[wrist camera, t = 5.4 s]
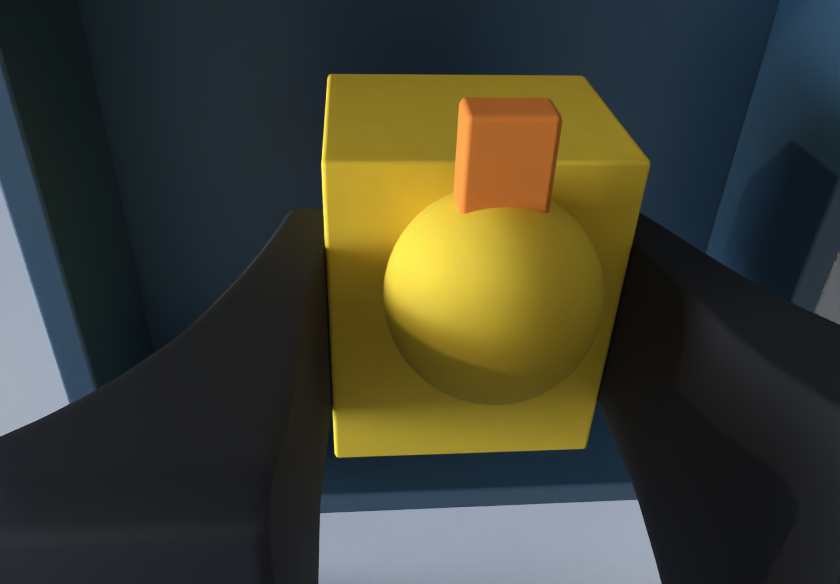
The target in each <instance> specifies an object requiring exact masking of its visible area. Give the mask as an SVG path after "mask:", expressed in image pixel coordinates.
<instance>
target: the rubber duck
mask: <svg viewBox="0 0 840 584" xmlns="http://www.w3.org/2000/svg"><path fill="white" fill-rule="evenodd" d="M649 168H650V161H649V159H648V158H647V157H646V155H645V154H644V153H643V151H642V150H641V149H640V148H639V146H638V145H637V144H636V142H635V141H634V140H633V139H632V137H631V136H630V135H629V133H628V132H627V131H626V130H625V128H624V127H623V126H622V124H621V123H620V122H619V121H618V119H617V118H616V117H615V115H614V114H613V113H612V112H611V110H610V109H609V108H608V106H607V105H606V104H605V103H604V101H603V100H602V99H601V97H600V96H599V95H598V94H597V92H596V91H595V90H594V88H593V87H592V86H591V85H590V83H589V82H588V81H587V79H586V78H585V77H584V76H568V75H419V74H330V75H328V78H327V91H326V105H325V119H324V134H323V148H322V162H321V170H322V192H323V213H324V235H325V257H326V278H327V300H328V321H329V343H330V365H331V386H332V408H333V430H334V451H335V455H336V457H339V458H342V457H370V456H398V455H426V454H454V453H482V452H510V451H538V450H566V449H584V448H586V446H587V441H588V437H589V432H590V428H591V424H592V419H593V415H594V410H595V406H596V402H597V397H598V393H599V388H600V384H601V380H602V375H603V371H604V366H605V362H606V358H607V353H608V349H609V344H610V340H611V335H612V331H613V327H614V322H615V318H616V313H617V309H618V305H619V300H620V296H621V291H622V287H623V283H624V278H625V274H626V269H627V265H628V261H629V256H630V252H631V247H632V243H633V238H634V234H635V230H636V225H637V221H638V216H639V212H640V208H641V203H642V199H643V194H644V190H645V186H646V181H647V177H648V172H649Z"/></svg>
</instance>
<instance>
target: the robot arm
mask: <svg viewBox="0 0 840 584" xmlns="http://www.w3.org/2000/svg"><path fill="white" fill-rule="evenodd" d="M597 401H598V403H599V406H600V408H601V410H602V413H603V415H604V417H605V420H606V422H607V424H608V427H609V429H610V431H611V434H612V436H613V439H614V441H615V443H616V446H617V448H618V450H619V453H620V455H621V457H622V460H623V462H624V465H625V467H626V469H627V472H628V474H629V477H630V479H631V482H632V485H633V488H634V490H635V493H636V496H637V498H638V502H639V505H640V508H641V512H642V515H643V519H644V522H645V525H646V529H647V532H648V536H649V539H650V542H651V546H652V549H653V553H654V556H655V560H656V564H657V567H658V571H659V575H660V579H661V582H662V584H840V325H839V324H836V323H834V322H832V321H830V320H828V319H826V318H823V317H821V316H819V315H817V314H815V313H812V312H810V311H808V310H806V309H804V308H802V307H800V306H798V305H796V304H794V303H792V302H790V301H788V300H786V299H784V298H782V297H780V296H778V295H776V294H774V293H773V292H771V291H769V290H767V289H765V288H763V287H762V286H760V285H758V284H756V283H754V282H753V281H751V280H749V279H747V278H745V277H744V276H742V275H740V274H738V273H737V272H735V271H733V270H732V269H730V268H728V267H727V266H725V265H723V264H722V263H720V262H718V261H717V260H715V259H713V258H712V257H710V256H709V255H707V254H705V253H704V252H702V251H701V250H699V249H697V248H696V247H694V246H693V245H691V244H690V243H688V242H686V241H685V240H683V239H682V238H680V237H679V236H677V235H675V234H674V233H672V232H671V231H669V230H668V229H666V228H664V227H663V226H661V225H660V224H658V223H656V222H655V221H653V220H651V219H650V218H648V217H646V216H645V215H643V214H641V213H639V216H638V221H637V225H636V230H635V234H634V238H633V243H632V247H631V252H630V256H629V261H628V265H627V269H626V274H625V278H624V283H623V287H622V291H621V296H620V300H619V305H618V309H617V313H616V318H615V322H614V327H613V331H612V335H611V340H610V344H609V349H608V353H607V358H606V362H605V366H604V371H603V375H602V380H601V384H600V388H599V393H598V397H597ZM331 412H332V386H331V365H330V343H329V321H328V300H327V278H326V257H325V235H324V213H323V209H292V210H291V211H290V212H289V213H288V214H287V215H286V216H285V218H284V219H283V221H282V222H281V224H280V225H279V227H278V228H277V230H276V231H275V233H274V234H273V235H272V237H271V238H270V240H269V241H268V242H267V244H266V245H265V246H264V247H263V249H262V250H261V251H260V253H259V254H258V255H257V256H256V257H255V259H254V260H253V261H252V262H251V264H250V265H249V266H248V267H247V268H246V270H245V271H244V272H243V273H242V274H241V275H240V277H239V278H238V279H237V280H236V281H235V282H234V283H233V284H232V285H231V286H230V287H229V288H228V289H227V290H226V291H225V292H224V294H223V295H222V296H221V297H220V298H219V299H218V300H217V301H216V302H215V303H214V304H213V305H212V306H211V307H210V308H209V309H208V310H207V311H206V312H205V313H204V314H202V315H201V316H200V317H199V318H198V319H197V320H196V321H195V322H194V323H193V324H191V325H190V326H189V327H188V328H187V329H185V330H184V331H183V332H182V333H180V334H179V335H178V336H177V337H175V338H174V339H173V340H172V341H170V342H169V343H168V344H166V345H165V346H163V347H162V348H160V349H159V350H157V351H156V352H154V353H153V354H152V355H150V356H149V357H147V358H146V359H144V360H143V361H141V362H140V363H138V364H137V365H135V366H134V367H132V368H131V369H129V370H128V371H126V372H125V373H123V374H122V375H120V376H119V377H117V378H115V379H114V380H112V381H110V382H109V383H107V384H105V385H103V386H102V387H100V388H98V389H97V390H95V391H93V392H91V393H90V394H88V395H86V396H84V397H82V398H80V399H78V400H77V401H75V402H73V403H71V404H69V405H67V406H65V407H63V408H61V409H59V410H58V411H56V412H53V413H51V414H49V415H47V416H45V417H43V418H41V419H39V420H37V421H35V422H33V423H30V424H28V425H26V426H24V427H21V428H19V429H17V430H14V431H12V432H10V433H8V434H5V435H3V436H1V437H0V584H318V569H319V527H320V505H321V493H322V482H323V475H324V467H325V459H326V451H327V443H328V436H329V428H330V420H331Z"/></svg>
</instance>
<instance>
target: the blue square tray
mask: <svg viewBox="0 0 840 584" xmlns="http://www.w3.org/2000/svg"><path fill="white" fill-rule="evenodd" d="M330 74H419V75H568V76H584V77H585V78H586V79H587V81H588V82H589V83H590V85H591V86H592V87H593V88H594V90H595V91H596V92H597V94H598V95H599V96H600V97H601V99H602V100H603V101H604V103H605V104H606V105H607V106H608V108H609V109H610V110H611V112H612V113H613V114H614V115H615V117H616V118H617V119H618V121H619V122H620V123H621V124H622V126H623V127H624V128H625V130H626V131H627V132H628V133H629V135H630V136H631V137H632V139H633V140H634V141H635V142H636V144H637V145H638V146H639V148H640V149H641V150H642V151H643V153H644V154H645V155H646V157H647V158H648V159H649V161H650V168H649V172H648V177H647V181H646V186H645V190H644V194H643V199H642V203H641V208H640V212H639V213H641V214H643V215H645V216H646V217H648V218H650V219H651V220H653V221H655V222H656V223H658V224H660V225H661V226H663V227H664V228H666V229H668V230H669V231H671V232H672V233H674V234H675V235H677V236H679V237H680V238H682V239H683V240H685V241H686V242H688V243H690V244H691V245H693V246H694V247H696V248H697V249H699V250H701V251H702V252H704V253H705V254H707V255H709V256H710V257H712V258H713V259H715V260H717V261H718V262H720V263H722V264H723V265H725V266H727V267H728V268H730V269H732V270H733V271H735V272H737V273H738V274H740V275H742V276H744V277H745V278H747V279H749V280H751V281H753V282H754V283H756V284H758V285H760V286H762V287H763V288H765V289H767V290H769V291H771V292H773V293H774V294H776V295H778V296H780V297H782V298H784V299H786V300H788V301H790V302H792V303H794V304H796V305H798V306H800V307H802V308H804V309H806V310H808V311H810V312H812V313H815V311H816V308H817V306H818V304H819V301H820V299H821V296H822V294H823V291H824V289H825V287H826V284H827V282H828V279H829V277H830V275H831V272H832V270H833V267H834V265H835V262H836V260H837V258H838V255H839V253H840V0H0V186H1V189H2V192H3V195H4V199H5V202H6V205H7V208H8V211H9V214H10V217H11V221H12V224H13V227H14V230H15V233H16V236H17V239H18V243H19V246H20V249H21V252H22V255H23V258H24V262H25V265H26V268H27V271H28V274H29V277H30V280H31V284H32V287H33V290H34V293H35V296H36V299H37V302H38V306H39V309H40V312H41V315H42V318H43V321H44V324H45V328H46V331H47V334H48V337H49V340H50V343H51V347H52V350H53V353H54V356H55V359H56V362H57V365H58V369H59V372H60V375H61V378H62V381H63V384H64V387H65V391H66V394H67V397H68V400H69V403H70V404H71V403H73V402H75V401H77V400H78V399H80V398H82V397H84V396H86V395H88V394H90V393H91V392H93V391H95V390H97V389H98V388H100V387H102V386H103V385H105V384H107V383H109V382H110V381H112V380H114V379H115V378H117V377H119V376H120V375H122V374H123V373H125V372H126V371H128V370H129V369H131V368H132V367H134V366H135V365H137V364H138V363H140V362H141V361H143V360H144V359H146V358H147V357H149V356H150V355H152V354H153V353H154V352H156V351H157V350H159V349H160V348H162V347H163V346H165V345H166V344H168V343H169V342H170V341H172V340H173V339H174V338H175V337H177V336H178V335H179V334H180V333H182V332H183V331H184V330H185V329H187V328H188V327H189V326H190V325H191V324H193V323H194V322H195V321H196V320H197V319H198V318H199V317H200V316H201V315H202V314H204V313H205V312H206V311H207V310H208V309H209V308H210V307H211V306H212V305H213V304H214V303H215V302H216V301H217V300H218V299H219V298H220V297H221V296H222V295H223V294H224V292H225V291H226V290H227V289H228V288H229V287H230V286H231V285H232V284H233V283H234V282H235V281H236V280H237V279H238V278H239V277H240V275H241V274H242V273H243V272H244V271H245V270H246V268H247V267H248V266H249V265H250V264H251V262H252V261H253V260H254V259H255V257H256V256H257V255H258V254H259V253H260V251H261V250H262V249H263V247H264V246H265V245H266V244H267V242H268V241H269V240H270V238H271V237H272V235H273V234H274V233H275V231H276V230H277V228H278V227H279V225H280V224H281V222H282V221H283V219H284V218H285V216H286V215H287V214H288V213H289V212H290V211H291V210H292V209H323V192H322V170H321V162H322V148H323V134H324V119H325V105H326V91H327V78H328V75H330ZM615 500H638V498H637V496H636V493H635V490H634V488H633V485H632V482H631V479H630V477H629V474H628V472H627V469H626V467H625V465H624V462H623V460H622V457H621V455H620V453H619V450H618V448H617V446H616V443H615V441H614V439H613V436H612V434H611V431H610V429H609V427H608V424H607V422H606V420H605V417H604V415H603V413H602V410H601V408H600V406H599V403H598V401H597V402H596V406H595V410H594V415H593V419H592V424H591V428H590V432H589V437H588V441H587V446H586V448H584V449H566V450H538V451H510V452H482V453H454V454H426V455H398V456H370V457H342V458H339V457H336V455H335V451H334V430H333V408H332V412H331V420H330V428H329V436H328V443H327V451H326V459H325V467H324V475H323V482H322V493H321V505H320V513H332V512H356V511H379V510H403V509H426V508H450V507H474V506H497V505H521V504H545V503H568V502H592V501H615Z"/></svg>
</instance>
